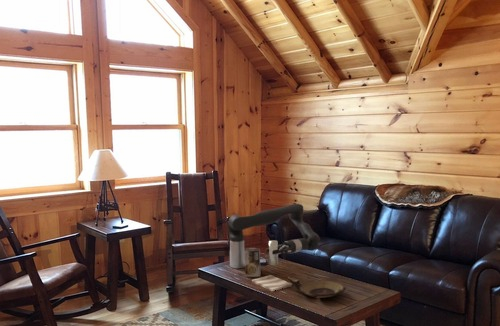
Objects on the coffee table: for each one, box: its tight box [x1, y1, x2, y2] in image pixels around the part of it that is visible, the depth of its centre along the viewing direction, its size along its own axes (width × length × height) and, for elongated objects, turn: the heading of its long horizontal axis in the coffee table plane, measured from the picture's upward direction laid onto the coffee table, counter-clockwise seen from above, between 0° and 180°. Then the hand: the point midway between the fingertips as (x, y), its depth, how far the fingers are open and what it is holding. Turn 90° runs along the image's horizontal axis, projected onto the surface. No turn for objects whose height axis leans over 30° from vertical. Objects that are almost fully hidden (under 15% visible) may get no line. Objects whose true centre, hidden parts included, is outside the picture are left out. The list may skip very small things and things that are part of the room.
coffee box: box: [244, 247, 261, 278], centre depth 262 cm, size 9×6×16 cm
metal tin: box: [268, 239, 279, 266], centre depth 247 cm, size 5×5×13 cm
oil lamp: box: [287, 276, 347, 299], centre depth 230 cm, size 22×30×8 cm
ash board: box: [251, 274, 293, 292], centre depth 247 cm, size 19×14×1 cm
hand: (269, 251), depth 245 cm, fingers closed on metal tin, 5 cm apart
